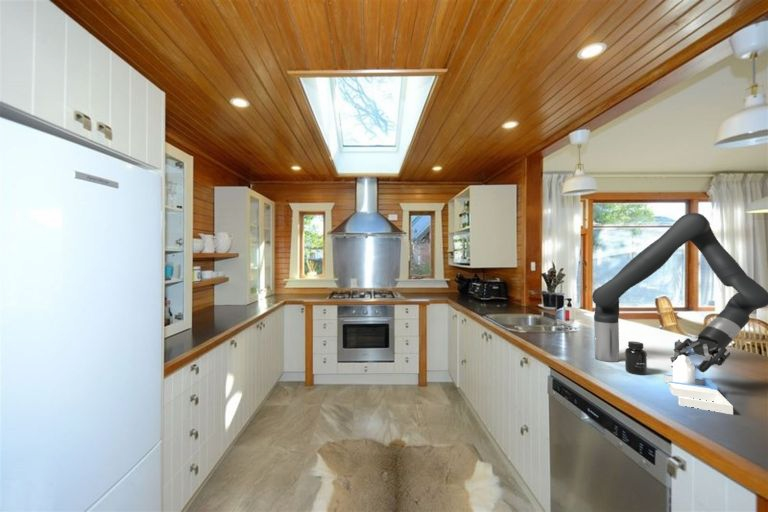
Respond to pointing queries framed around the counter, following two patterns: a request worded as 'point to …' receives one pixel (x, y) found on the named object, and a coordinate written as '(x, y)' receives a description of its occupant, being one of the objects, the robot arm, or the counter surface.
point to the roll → (683, 370)
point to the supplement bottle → (635, 358)
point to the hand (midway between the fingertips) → (688, 366)
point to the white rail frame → (699, 395)
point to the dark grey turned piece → (676, 350)
